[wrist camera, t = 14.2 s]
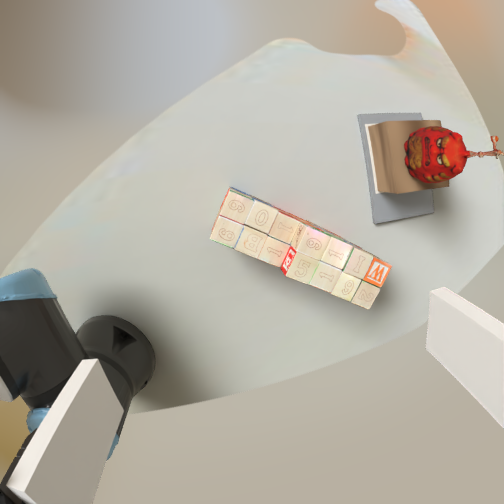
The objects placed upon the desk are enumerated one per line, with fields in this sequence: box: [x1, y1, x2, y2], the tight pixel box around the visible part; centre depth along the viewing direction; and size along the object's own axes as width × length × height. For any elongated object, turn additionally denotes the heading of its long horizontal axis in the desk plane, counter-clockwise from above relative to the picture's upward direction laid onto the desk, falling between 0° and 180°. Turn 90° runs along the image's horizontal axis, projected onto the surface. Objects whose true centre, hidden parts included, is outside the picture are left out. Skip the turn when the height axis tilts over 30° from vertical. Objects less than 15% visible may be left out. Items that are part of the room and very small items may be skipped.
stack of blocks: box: [210, 187, 392, 309], centre depth 39 cm, size 21×6×12 cm, turn 66°
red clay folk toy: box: [404, 126, 504, 183], centre depth 29 cm, size 8×7×15 cm
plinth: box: [368, 120, 449, 194], centre depth 40 cm, size 10×10×6 cm
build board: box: [357, 113, 434, 224], centre depth 43 cm, size 12×17×1 cm
